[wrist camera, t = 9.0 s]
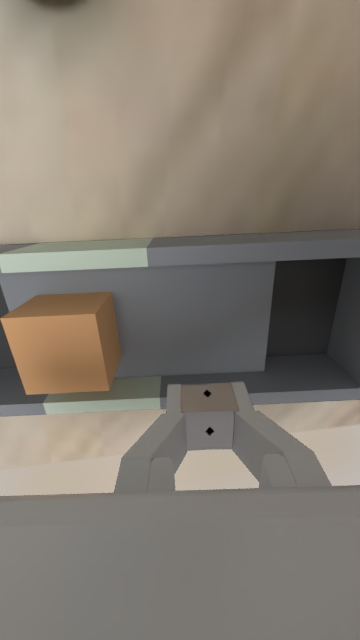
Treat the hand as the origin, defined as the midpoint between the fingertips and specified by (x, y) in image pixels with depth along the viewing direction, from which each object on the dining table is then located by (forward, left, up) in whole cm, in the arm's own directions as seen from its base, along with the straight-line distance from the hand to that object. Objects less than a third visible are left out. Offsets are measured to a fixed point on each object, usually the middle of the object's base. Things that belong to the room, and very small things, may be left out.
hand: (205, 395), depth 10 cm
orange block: (+8, +1, -8) cm, 12 cm away
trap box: (+4, 0, -11) cm, 12 cm away
